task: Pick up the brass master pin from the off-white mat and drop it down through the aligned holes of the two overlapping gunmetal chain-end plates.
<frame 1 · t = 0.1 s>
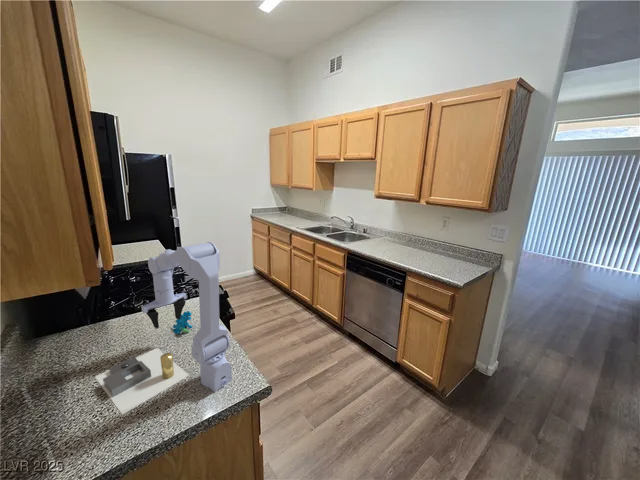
hand: (167, 322, 96), 10 cm above the counter, tool pointing down, fingers open, 7 cm apart
plate a: (133, 378, 81), resting on mat
mat: (142, 378, 82), on the counter
gear: (183, 331, 108), on the counter
plate b: (133, 374, 81), resting on mat
pin: (168, 375, 83), point 1 cm above the counter, touching mat
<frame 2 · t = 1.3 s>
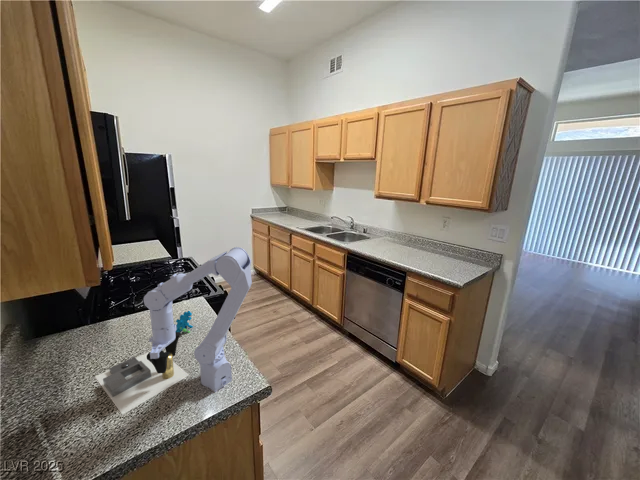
hand: (166, 363, 82), 5 cm above the counter, tool pointing down, fingers open, 7 cm apart
nothing on the counter moved.
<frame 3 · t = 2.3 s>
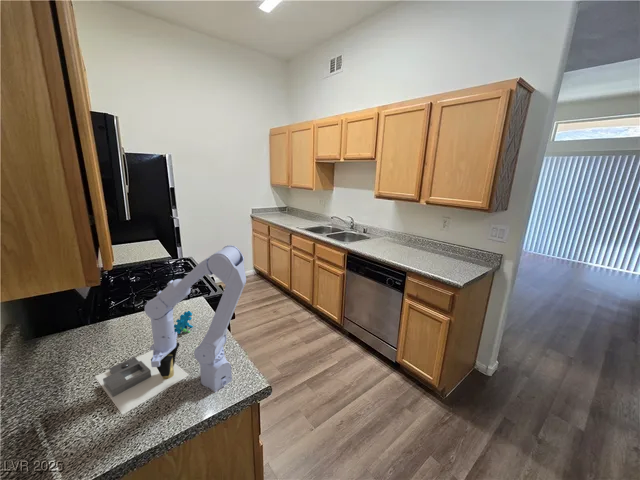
hand: (167, 370, 82), 3 cm above the counter, tool pointing down, fingers closed on pin, 3 cm apart
pin: (168, 375, 83), point 1 cm above the counter, touching gripper, mat
everything else where it was.
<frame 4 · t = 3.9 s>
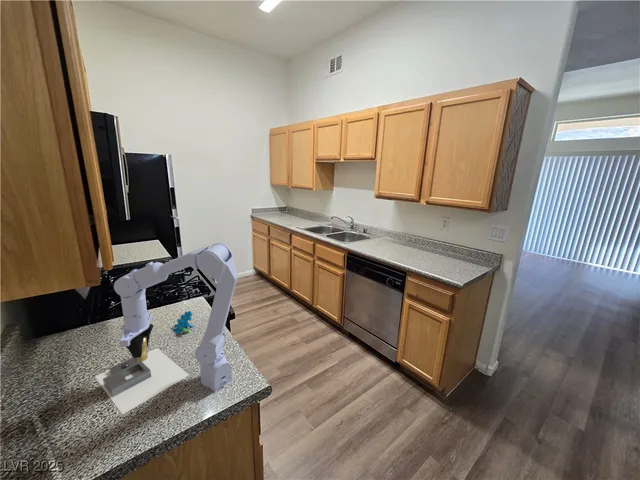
hand: (140, 352, 80), 10 cm above the counter, tool pointing down, fingers closed on pin, 3 cm apart
pin: (141, 358, 80), point 8 cm above the counter, touching gripper
everything else where it was.
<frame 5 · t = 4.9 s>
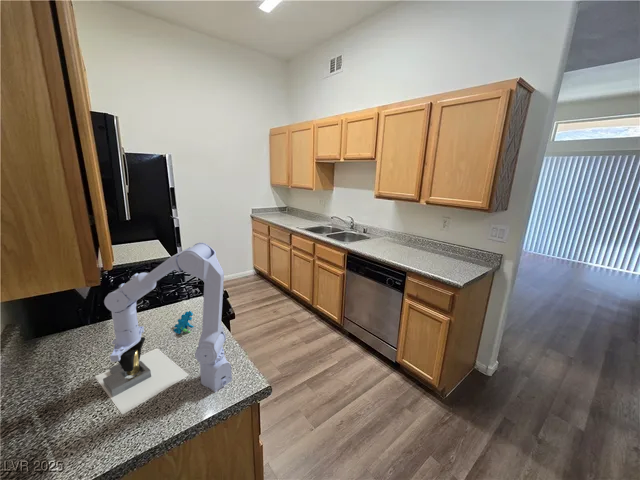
hand: (132, 366, 80), 5 cm above the counter, tool pointing down, fingers closed on pin, 3 cm apart
pin: (133, 371, 81), point 3 cm above the counter, touching gripper
everything else where it was.
when the fingers open (4 cm above the counter, at t = 5.5 s): pin stays where it is, resting on mat.
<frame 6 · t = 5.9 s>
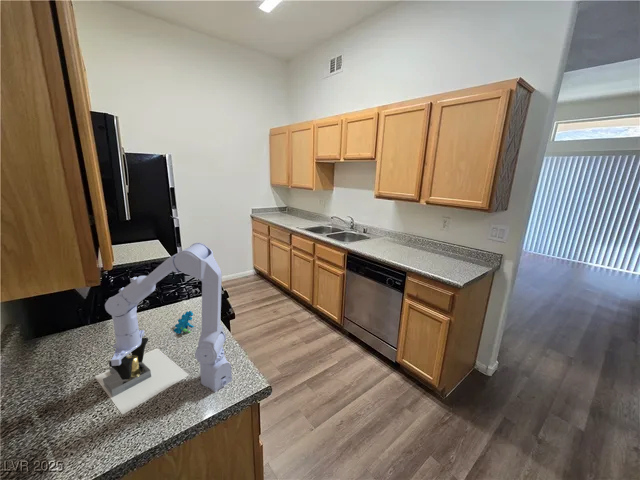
hand: (132, 369, 80), 4 cm above the counter, tool pointing down, fingers open, 7 cm apart
pin: (134, 378, 81), point 1 cm above the counter, touching mat
everything else where it was.
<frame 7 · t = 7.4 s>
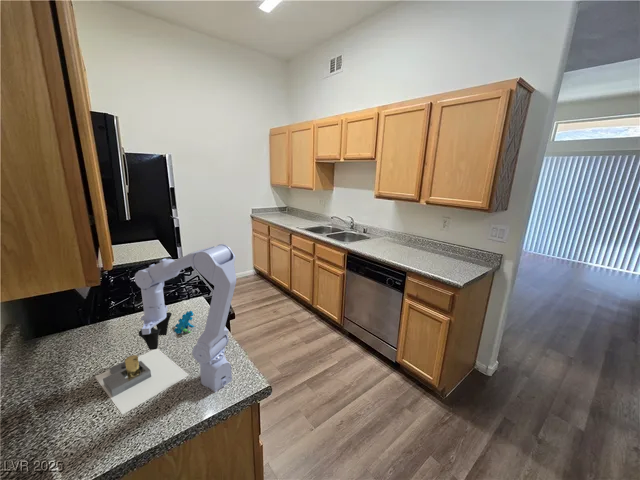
hand: (158, 341, 86), 9 cm above the counter, tool pointing down, fingers open, 7 cm apart
nothing on the counter moved.
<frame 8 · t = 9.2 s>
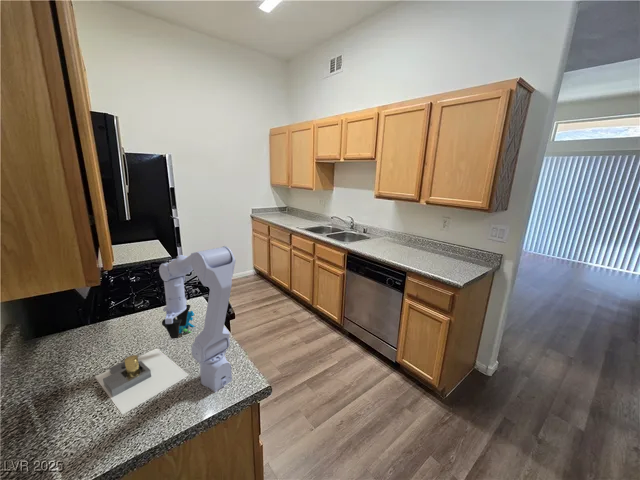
hand: (178, 331, 92), 9 cm above the counter, tool pointing down, fingers open, 7 cm apart
nothing on the counter moved.
at the end: pin 0.1 cm off-centre on the plate a, point 0.0 cm above the plate a's base; pin tilted 0°; the gripper is holding nothing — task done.
